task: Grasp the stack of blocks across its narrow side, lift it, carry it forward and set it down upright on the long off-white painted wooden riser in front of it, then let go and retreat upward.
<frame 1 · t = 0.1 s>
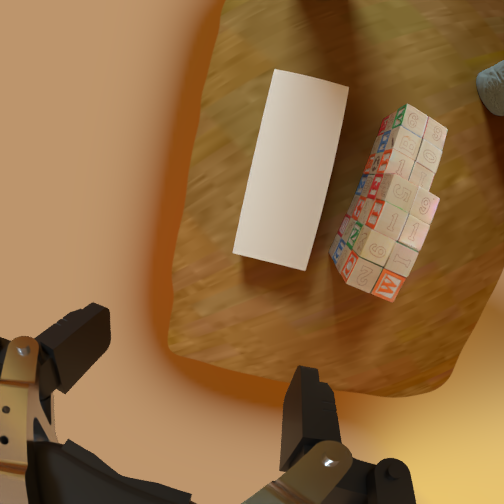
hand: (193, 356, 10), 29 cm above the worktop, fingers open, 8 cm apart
grey hollow cylindrical piece: (491, 95, 27), on the worktop
stack of blocks: (376, 193, 35), on the worktop
riser: (291, 168, 36), on the worktop
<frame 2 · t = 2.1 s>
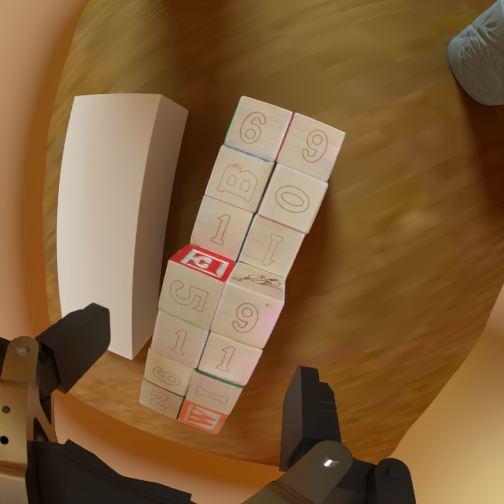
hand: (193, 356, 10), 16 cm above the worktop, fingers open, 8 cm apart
grey hollow cylindrical piece: (475, 73, 17), on the worktop
stack of blocks: (248, 246, 25), on the worktop
riser: (127, 221, 26), on the worktop
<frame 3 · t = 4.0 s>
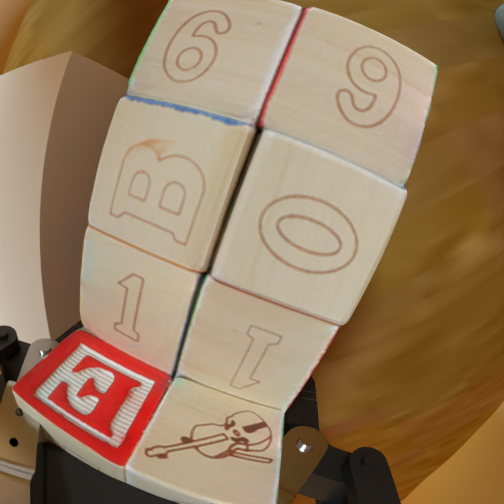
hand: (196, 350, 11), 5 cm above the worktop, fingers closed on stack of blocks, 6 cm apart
stack of blocks: (227, 289, 16), on the worktop, touching gripper
riser: (61, 247, 16), on the worktop
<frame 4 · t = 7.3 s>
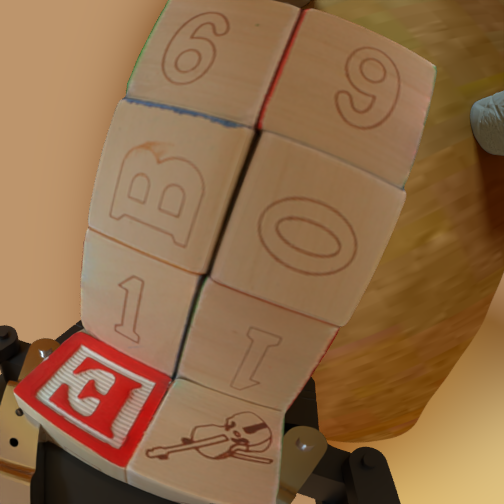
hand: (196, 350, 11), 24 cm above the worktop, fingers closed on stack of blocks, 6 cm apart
grey hollow cylindrical piece: (487, 129, 26), on the worktop
stack of blocks: (228, 290, 16), point 19 cm above the worktop, touching gripper
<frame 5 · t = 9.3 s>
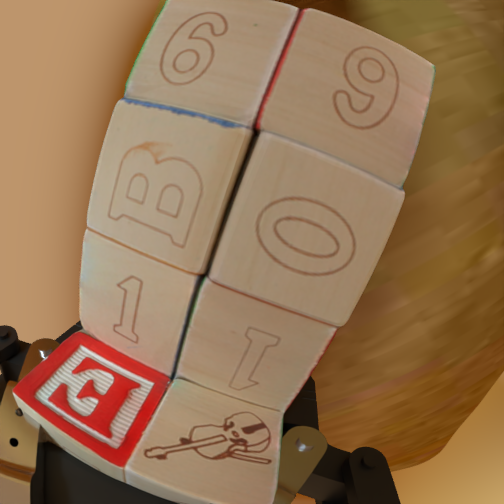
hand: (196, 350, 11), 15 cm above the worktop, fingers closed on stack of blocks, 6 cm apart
stack of blocks: (227, 290, 16), point 10 cm above the worktop, touching gripper
when the fingers open (13 cm above the worktop, at t = 10.8 s): stack of blocks drops 1 cm, resting on riser.
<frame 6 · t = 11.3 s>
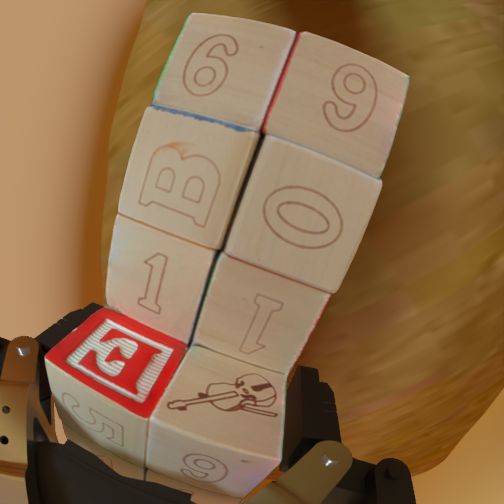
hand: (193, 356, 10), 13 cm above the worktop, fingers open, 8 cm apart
stack of blocks: (232, 279, 17), point 6 cm above the worktop, touching riser
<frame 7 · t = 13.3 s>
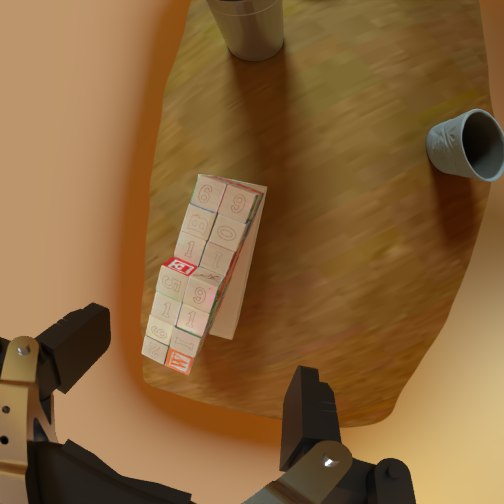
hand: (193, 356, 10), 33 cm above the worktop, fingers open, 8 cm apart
grey hollow cylindrical piece: (444, 150, 35), on the worktop
stack of blocks: (215, 257, 38), point 6 cm above the worktop, touching riser
riser: (224, 252, 44), on the worktop
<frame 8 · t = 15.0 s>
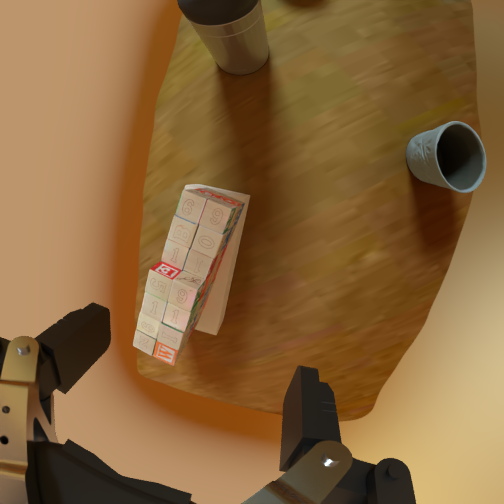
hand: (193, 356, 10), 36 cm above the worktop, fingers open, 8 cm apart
grey hollow cylindrical piece: (425, 159, 39), on the worktop
stack of blocks: (201, 259, 42), point 6 cm above the worktop, touching riser
riser: (210, 255, 47), on the worktop
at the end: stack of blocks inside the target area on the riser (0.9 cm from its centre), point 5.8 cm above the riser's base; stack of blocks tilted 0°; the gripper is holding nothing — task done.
